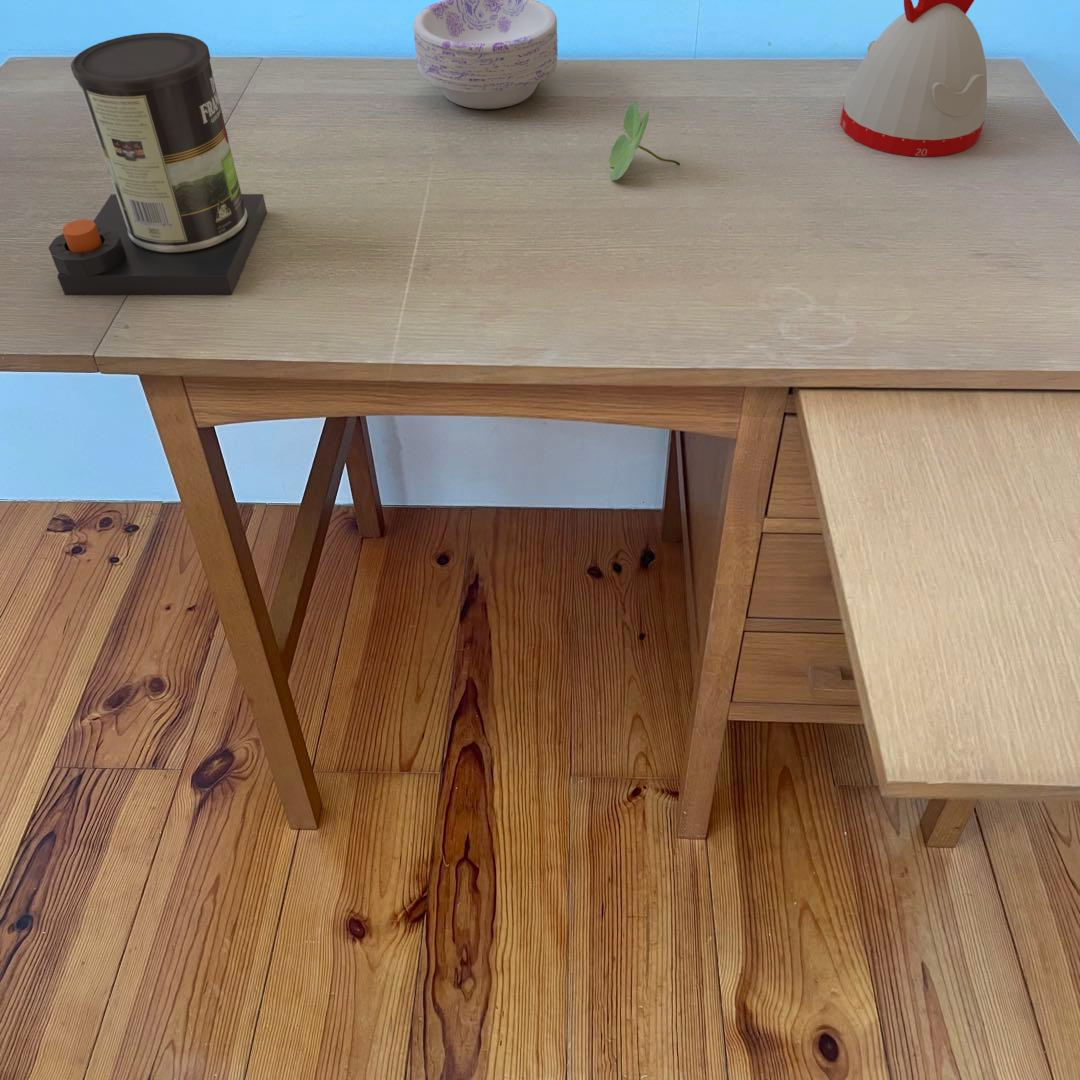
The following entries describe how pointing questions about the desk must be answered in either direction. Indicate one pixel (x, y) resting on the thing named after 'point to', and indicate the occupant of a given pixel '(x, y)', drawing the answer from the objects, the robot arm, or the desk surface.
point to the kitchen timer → (920, 84)
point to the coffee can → (163, 139)
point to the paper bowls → (486, 49)
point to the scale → (154, 260)
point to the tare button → (81, 236)
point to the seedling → (630, 141)
